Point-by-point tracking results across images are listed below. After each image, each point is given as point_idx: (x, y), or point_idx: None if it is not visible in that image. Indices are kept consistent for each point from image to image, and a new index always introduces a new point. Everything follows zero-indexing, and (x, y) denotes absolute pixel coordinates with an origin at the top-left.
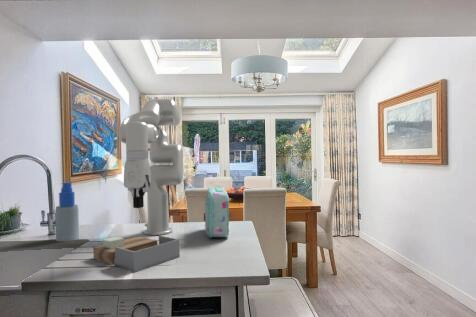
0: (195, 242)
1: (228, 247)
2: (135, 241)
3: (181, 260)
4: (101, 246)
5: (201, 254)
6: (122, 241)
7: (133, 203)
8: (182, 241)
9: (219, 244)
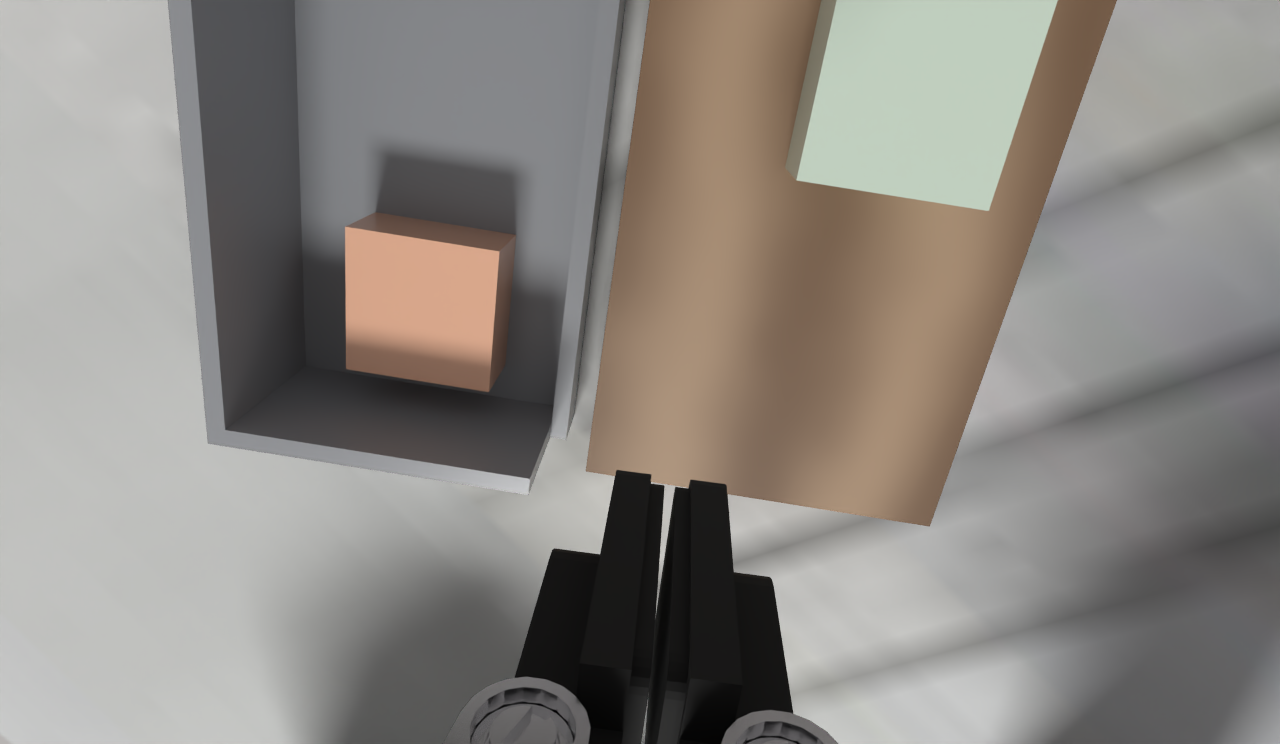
0: None
1: (170, 688)
2: (785, 352)
3: None
4: None
5: (199, 486)
6: (794, 155)
7: (722, 540)
8: None
9: (286, 727)
